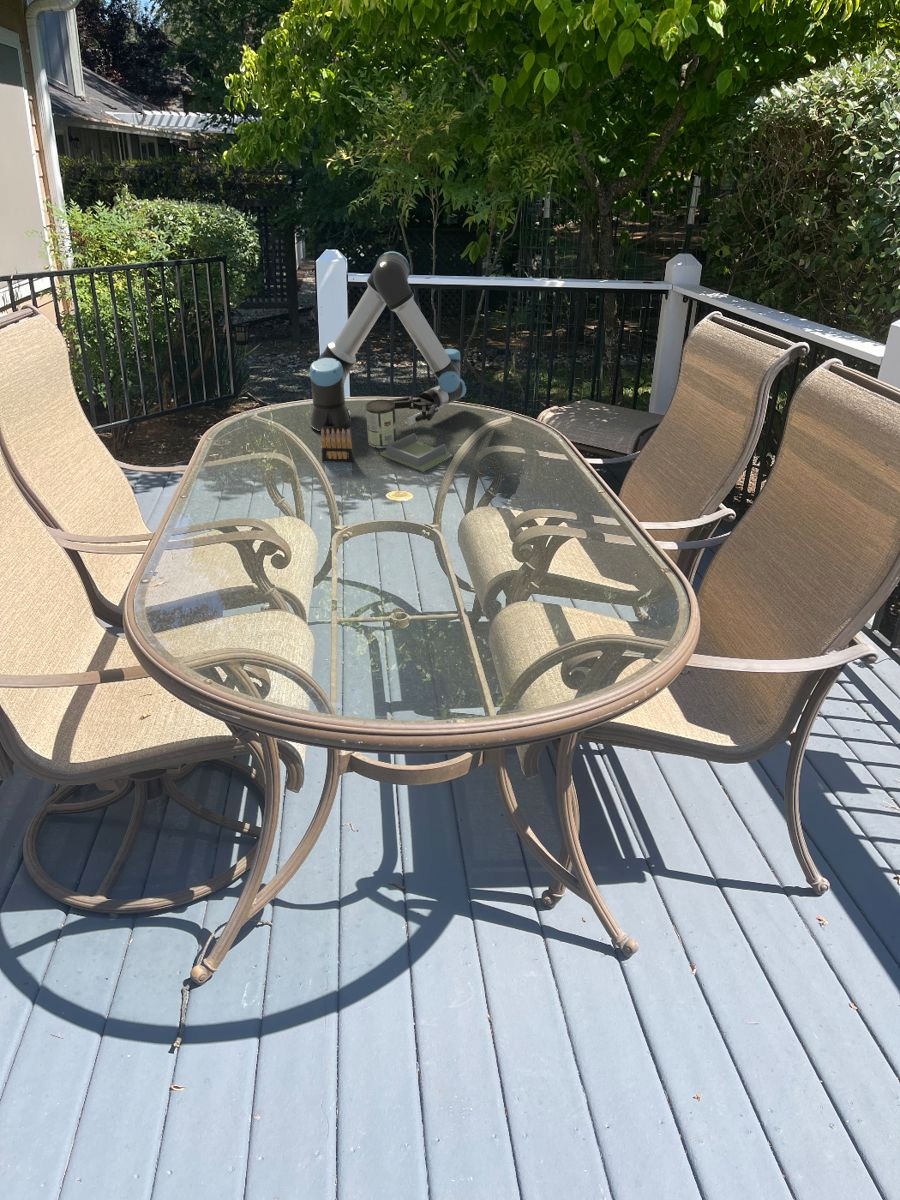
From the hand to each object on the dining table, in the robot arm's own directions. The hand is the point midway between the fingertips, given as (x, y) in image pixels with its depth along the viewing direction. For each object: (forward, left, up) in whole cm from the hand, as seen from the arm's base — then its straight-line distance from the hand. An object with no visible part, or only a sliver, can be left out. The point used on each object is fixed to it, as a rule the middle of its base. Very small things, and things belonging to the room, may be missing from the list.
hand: (393, 416), depth 313 cm
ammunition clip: (-2, -26, -8) cm, 28 cm away
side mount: (+16, -6, -8) cm, 19 cm away
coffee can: (-1, -6, -8) cm, 10 cm away
